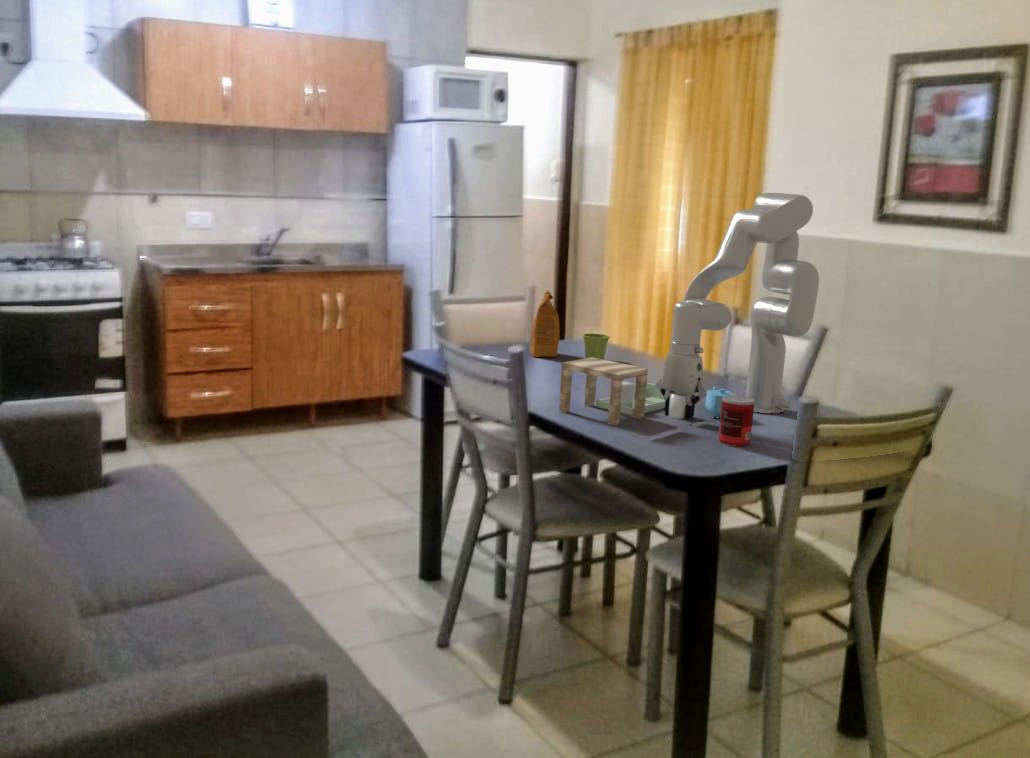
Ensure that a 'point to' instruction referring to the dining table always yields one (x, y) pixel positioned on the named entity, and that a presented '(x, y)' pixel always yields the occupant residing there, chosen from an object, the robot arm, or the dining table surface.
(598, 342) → the plant pot
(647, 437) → the dining table surface
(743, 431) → the canned food
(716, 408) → the teapot
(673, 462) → the dining table surface
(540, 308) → the coffee package
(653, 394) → the tray
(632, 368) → the miniature wooden table
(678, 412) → the white piece
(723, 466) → the dining table surface
